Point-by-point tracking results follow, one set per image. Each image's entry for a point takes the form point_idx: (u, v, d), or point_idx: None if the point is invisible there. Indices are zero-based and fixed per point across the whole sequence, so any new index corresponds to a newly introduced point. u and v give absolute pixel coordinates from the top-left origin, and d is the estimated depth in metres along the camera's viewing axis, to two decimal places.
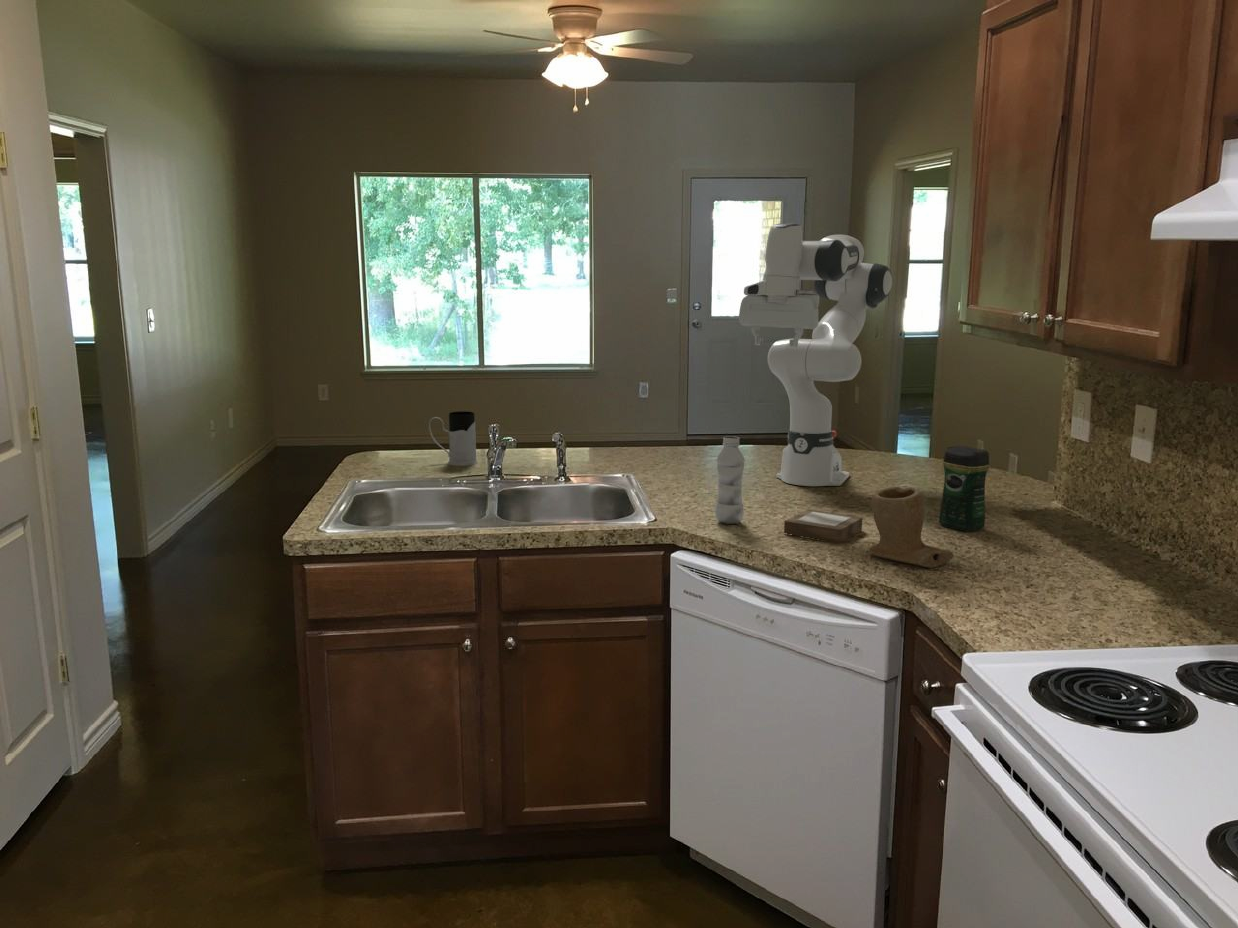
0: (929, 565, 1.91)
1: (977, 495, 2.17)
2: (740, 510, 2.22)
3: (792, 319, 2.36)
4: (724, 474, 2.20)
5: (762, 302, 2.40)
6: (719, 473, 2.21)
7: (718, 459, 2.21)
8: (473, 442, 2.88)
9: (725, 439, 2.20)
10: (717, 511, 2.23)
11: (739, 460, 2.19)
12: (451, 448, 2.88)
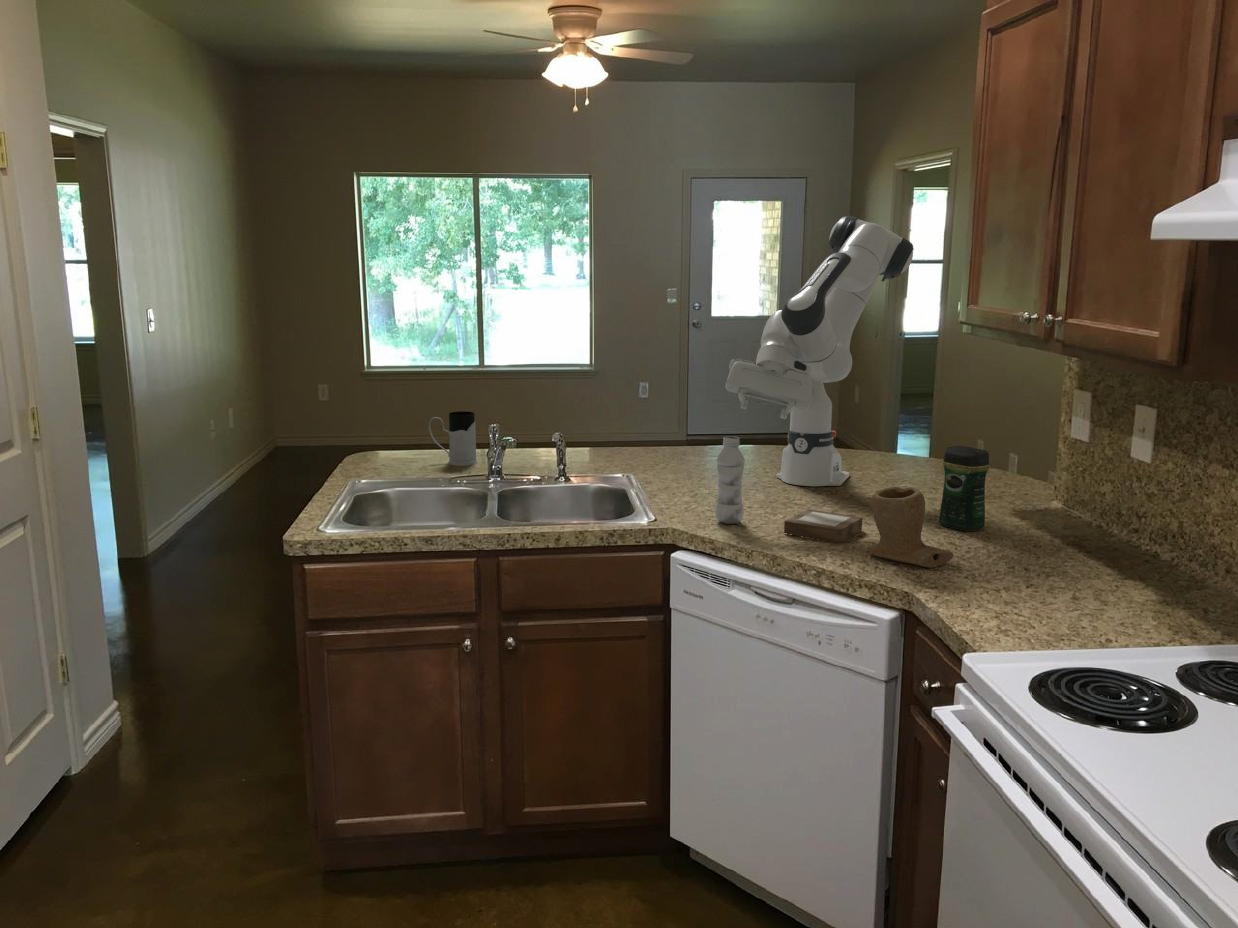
0: (929, 565, 1.91)
1: (977, 495, 2.17)
2: (740, 510, 2.22)
3: None
4: (724, 474, 2.20)
5: None
6: (719, 473, 2.21)
7: (718, 459, 2.21)
8: (473, 442, 2.88)
9: (725, 439, 2.20)
10: (717, 511, 2.23)
11: (739, 460, 2.19)
12: (451, 448, 2.88)
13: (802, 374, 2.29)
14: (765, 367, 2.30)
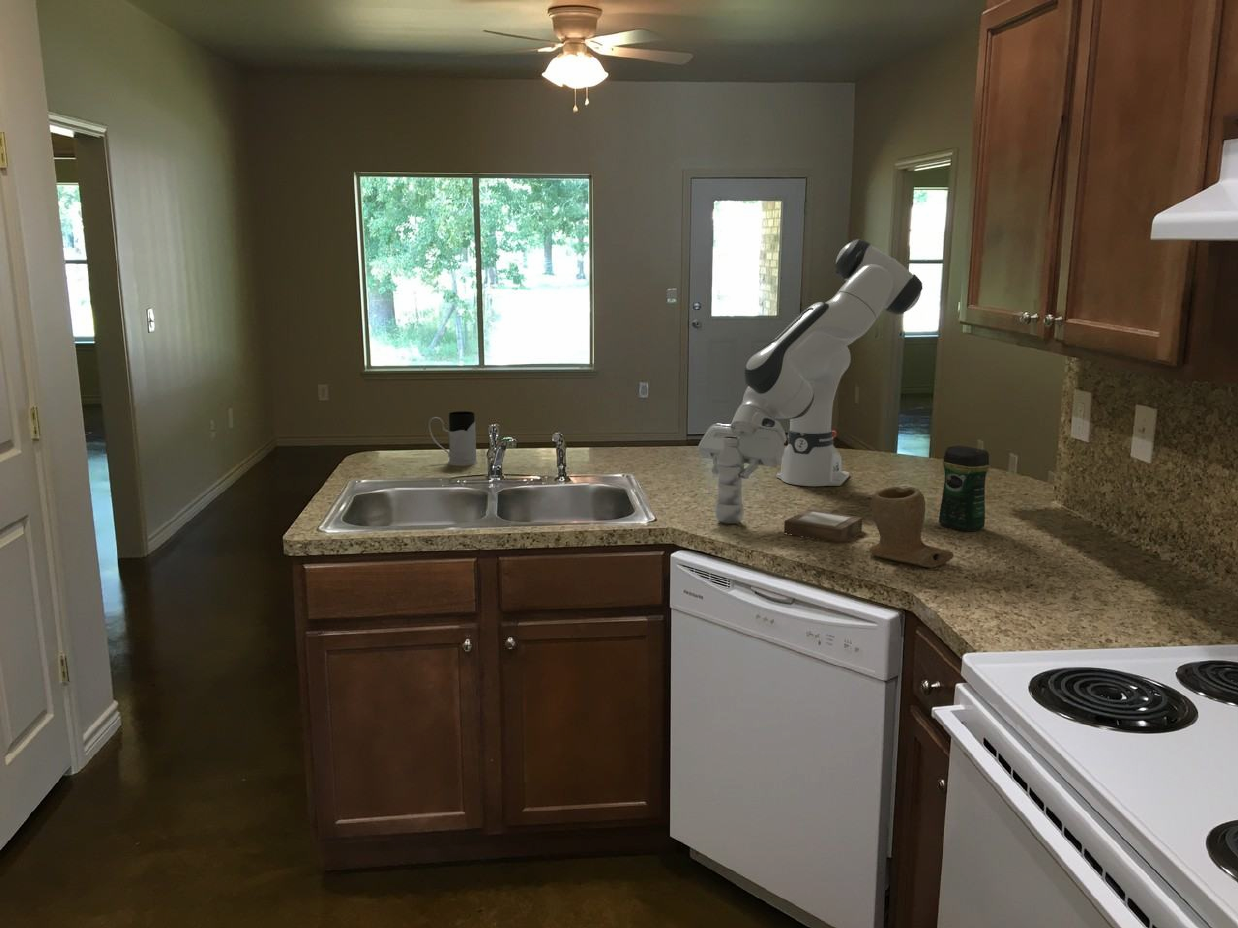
0: (929, 565, 1.91)
1: (977, 495, 2.17)
2: (740, 510, 2.22)
3: None
4: (724, 474, 2.20)
5: None
6: (719, 473, 2.21)
7: (718, 459, 2.21)
8: (473, 442, 2.88)
9: (725, 439, 2.20)
10: (717, 511, 2.23)
11: (739, 460, 2.19)
12: (451, 448, 2.88)
13: (770, 431, 2.21)
14: (735, 429, 2.26)
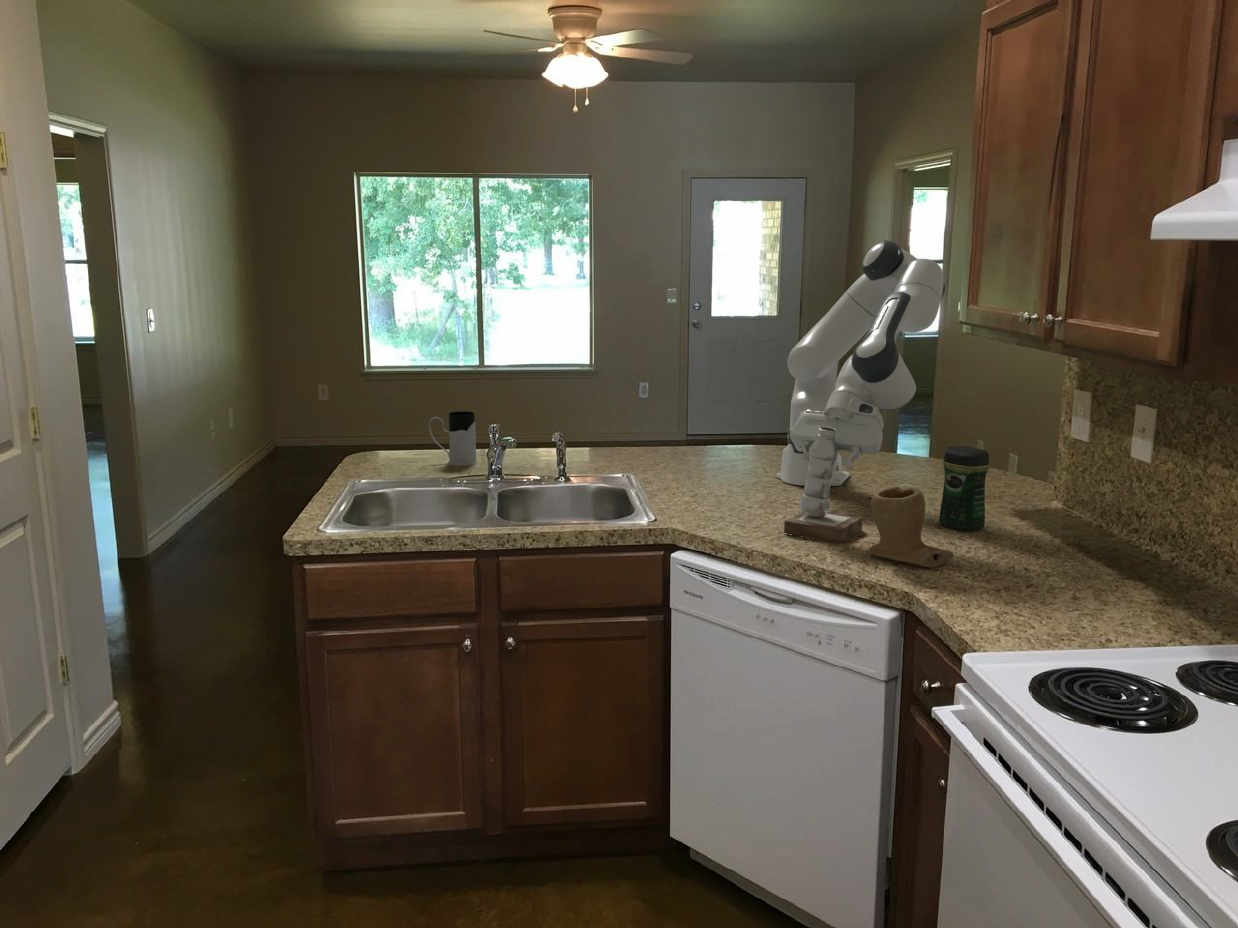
0: (929, 565, 1.91)
1: (977, 495, 2.17)
2: (827, 504, 2.15)
3: None
4: (816, 466, 2.12)
5: None
6: (810, 464, 2.14)
7: (811, 450, 2.13)
8: (473, 442, 2.88)
9: (821, 430, 2.12)
10: (803, 502, 2.16)
11: (833, 453, 2.12)
12: (451, 448, 2.88)
13: (868, 417, 2.13)
14: (829, 415, 2.18)
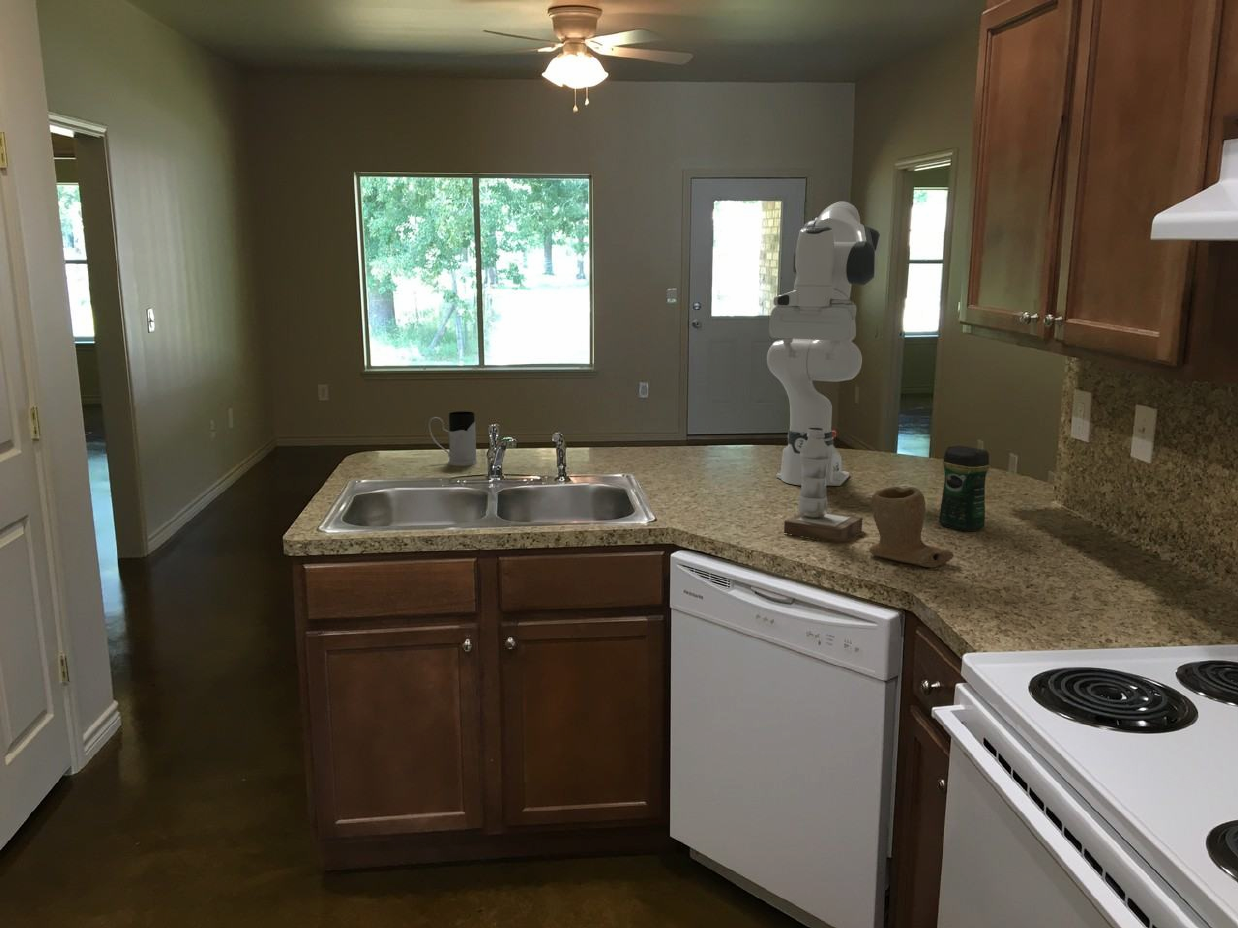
0: (929, 565, 1.91)
1: (977, 495, 2.17)
2: (825, 503, 2.15)
3: (827, 331, 2.20)
4: (809, 466, 2.13)
5: (793, 313, 2.23)
6: (803, 465, 2.15)
7: (802, 451, 2.14)
8: (473, 442, 2.88)
9: (810, 430, 2.13)
10: (801, 505, 2.16)
11: (824, 452, 2.13)
12: (451, 448, 2.88)
13: None
14: None
